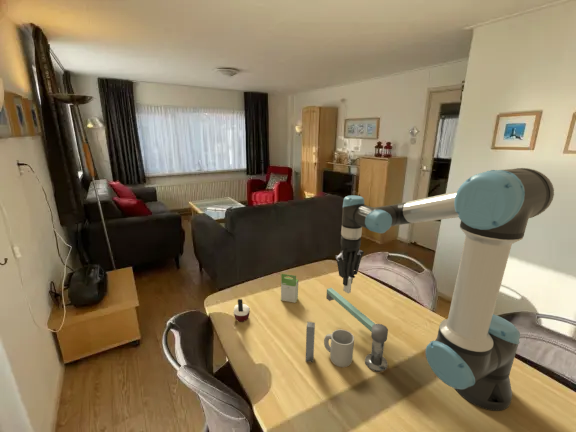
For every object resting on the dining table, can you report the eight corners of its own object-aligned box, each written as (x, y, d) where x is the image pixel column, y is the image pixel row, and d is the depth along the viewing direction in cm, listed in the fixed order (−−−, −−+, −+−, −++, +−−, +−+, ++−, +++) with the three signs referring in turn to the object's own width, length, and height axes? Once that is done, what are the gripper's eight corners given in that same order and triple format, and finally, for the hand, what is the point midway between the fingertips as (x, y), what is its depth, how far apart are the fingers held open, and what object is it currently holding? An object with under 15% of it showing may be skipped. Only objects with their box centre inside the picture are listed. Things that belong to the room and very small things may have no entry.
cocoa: (239, 312, 118) (238, 286, 116) (253, 314, 117) (252, 288, 114) (229, 326, 109) (226, 298, 107) (243, 328, 108) (242, 300, 105)
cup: (347, 371, 89) (349, 348, 86) (318, 358, 94) (319, 335, 91) (355, 356, 95) (357, 334, 92) (328, 345, 100) (329, 323, 97)
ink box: (298, 298, 128) (298, 271, 124) (295, 303, 124) (296, 276, 121) (283, 295, 130) (283, 269, 126) (280, 300, 126) (280, 273, 123)
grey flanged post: (391, 364, 92) (394, 339, 89) (379, 375, 87) (382, 350, 85) (372, 351, 97) (375, 328, 94) (360, 362, 92) (363, 337, 90)
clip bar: (389, 344, 89) (391, 331, 87) (378, 349, 87) (379, 335, 85) (333, 296, 115) (334, 285, 113) (323, 299, 113) (324, 288, 111)
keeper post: (313, 357, 94) (314, 322, 91) (312, 362, 92) (314, 327, 88) (306, 356, 95) (307, 321, 91) (305, 361, 93) (306, 326, 89)
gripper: (356, 230, 113) (352, 283, 120) (331, 236, 107) (328, 291, 113) (370, 236, 107) (365, 291, 114) (344, 242, 101) (340, 300, 107)
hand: (346, 291), depth 113 cm, fingers closed
